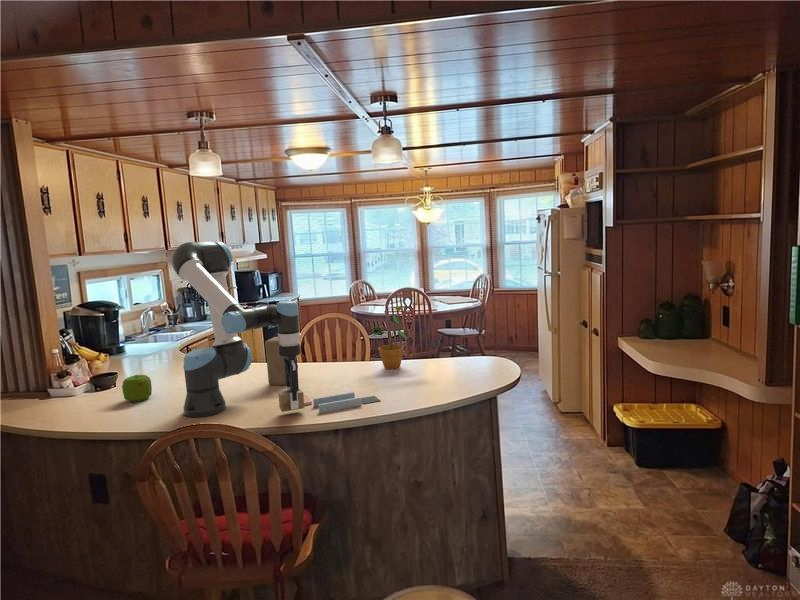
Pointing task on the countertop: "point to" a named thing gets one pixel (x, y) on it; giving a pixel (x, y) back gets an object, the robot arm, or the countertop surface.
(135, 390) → the green rounded cube
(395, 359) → the potted plant
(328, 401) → the channel
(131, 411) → the countertop surface
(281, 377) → the wooden block
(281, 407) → the block
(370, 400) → the trap mat
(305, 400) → the tile
